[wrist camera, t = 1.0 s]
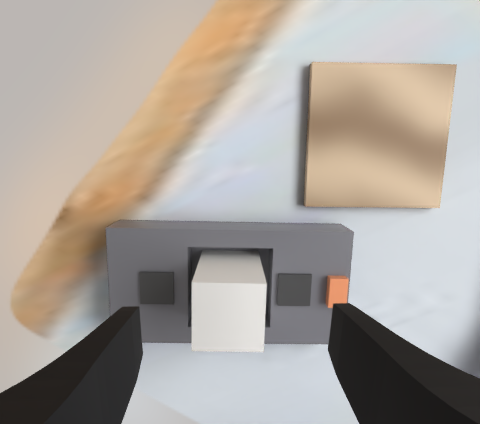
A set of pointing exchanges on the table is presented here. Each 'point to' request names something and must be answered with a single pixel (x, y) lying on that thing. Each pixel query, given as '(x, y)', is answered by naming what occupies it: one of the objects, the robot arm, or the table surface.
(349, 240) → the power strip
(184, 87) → the table surface
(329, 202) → the cork coaster
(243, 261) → the white rectangular block
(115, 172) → the table surface
